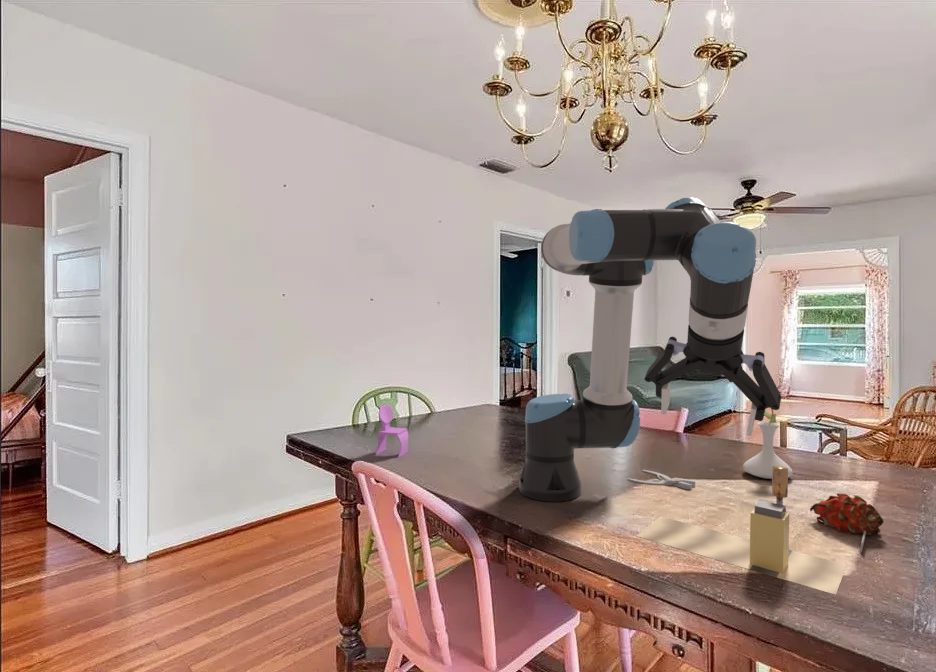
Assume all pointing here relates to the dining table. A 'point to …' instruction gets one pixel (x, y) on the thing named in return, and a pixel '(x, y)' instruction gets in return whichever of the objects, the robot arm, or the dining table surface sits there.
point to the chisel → (780, 483)
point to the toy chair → (390, 431)
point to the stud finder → (769, 536)
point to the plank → (744, 553)
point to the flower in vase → (766, 452)
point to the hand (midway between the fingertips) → (706, 418)
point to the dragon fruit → (848, 514)
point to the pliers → (667, 481)
